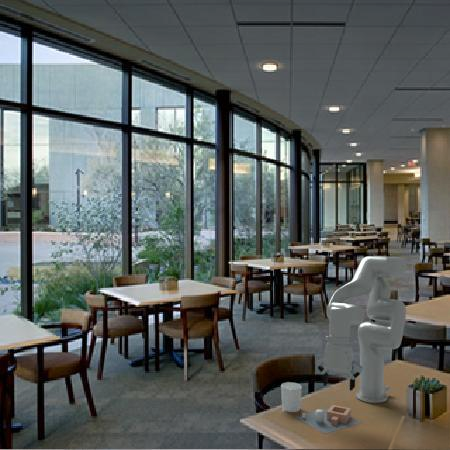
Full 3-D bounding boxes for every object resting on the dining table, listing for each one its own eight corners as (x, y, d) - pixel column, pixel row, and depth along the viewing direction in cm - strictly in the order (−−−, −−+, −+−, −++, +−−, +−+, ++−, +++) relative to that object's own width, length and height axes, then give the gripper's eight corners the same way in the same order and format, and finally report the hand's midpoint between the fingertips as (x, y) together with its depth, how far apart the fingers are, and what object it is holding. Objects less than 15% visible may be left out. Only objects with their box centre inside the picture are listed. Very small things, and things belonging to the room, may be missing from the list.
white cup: (301, 416, 179) (301, 390, 179) (280, 414, 181) (280, 388, 181) (301, 408, 187) (302, 383, 187) (281, 406, 188) (281, 381, 188)
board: (330, 410, 185) (330, 397, 185) (362, 425, 171) (362, 411, 171) (294, 420, 176) (294, 406, 176) (324, 437, 162) (325, 422, 162)
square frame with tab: (343, 427, 167) (343, 418, 167) (324, 423, 171) (324, 414, 171) (350, 416, 176) (351, 408, 176) (332, 412, 180) (332, 404, 180)
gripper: (313, 339, 175) (312, 385, 175) (360, 345, 167) (359, 394, 167) (319, 335, 182) (318, 380, 182) (365, 341, 174) (364, 388, 173)
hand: (338, 387), depth 174 cm, fingers open, 9 cm apart
